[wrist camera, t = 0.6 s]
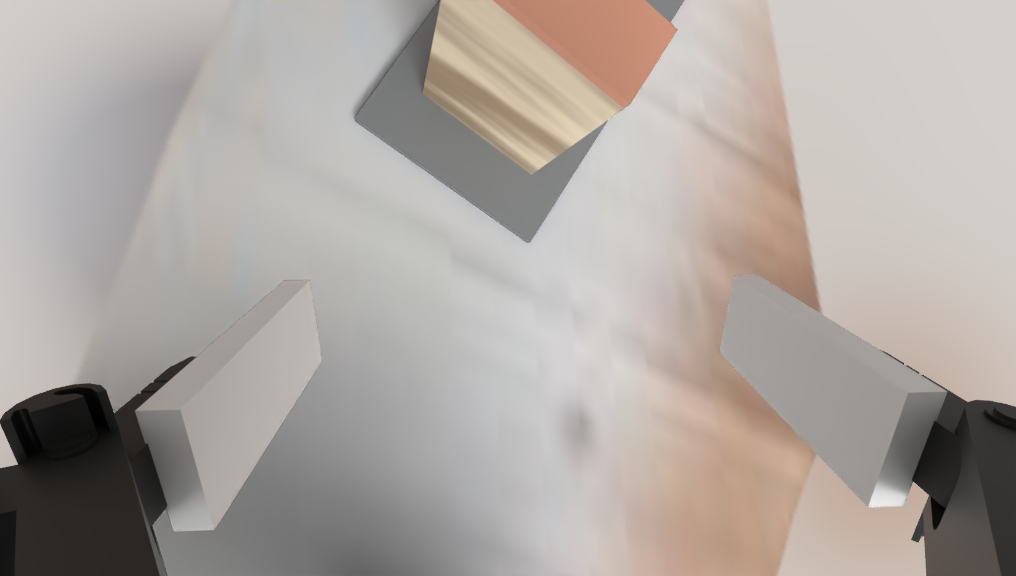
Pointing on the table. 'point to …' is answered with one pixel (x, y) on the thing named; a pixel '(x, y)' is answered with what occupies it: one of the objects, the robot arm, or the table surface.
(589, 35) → the block
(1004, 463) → the robot arm
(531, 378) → the table surface
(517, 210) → the mat
